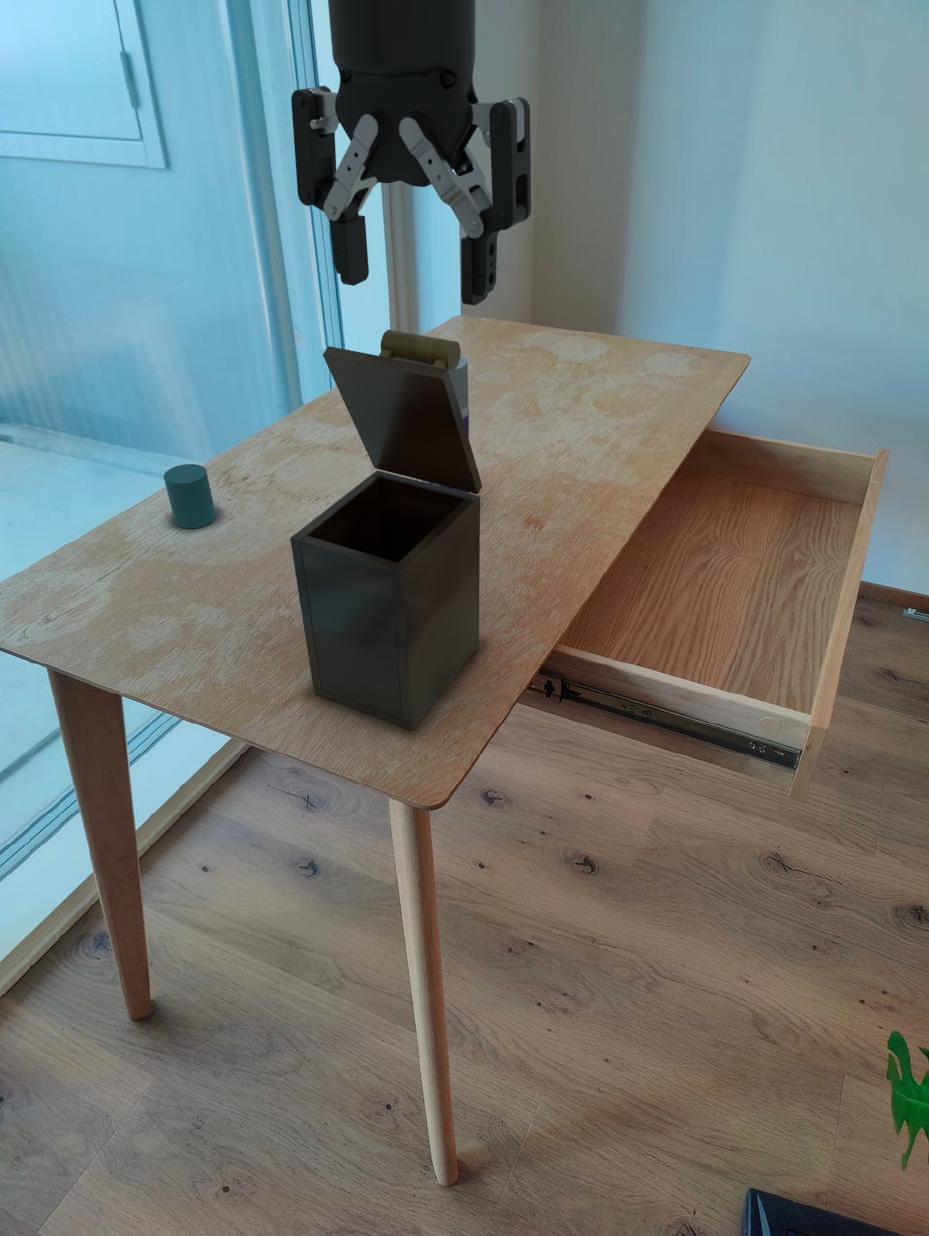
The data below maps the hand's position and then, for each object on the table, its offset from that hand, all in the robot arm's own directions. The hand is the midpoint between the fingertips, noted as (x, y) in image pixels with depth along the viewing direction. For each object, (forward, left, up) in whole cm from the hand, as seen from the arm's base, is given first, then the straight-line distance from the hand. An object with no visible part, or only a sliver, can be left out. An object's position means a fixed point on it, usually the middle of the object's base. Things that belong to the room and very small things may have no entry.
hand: (413, 291), depth 51 cm
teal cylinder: (-10, +29, -27) cm, 41 cm away
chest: (-4, -2, -27) cm, 28 cm away
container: (+12, +17, -28) cm, 35 cm away
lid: (-2, -1, -8) cm, 9 cm away
